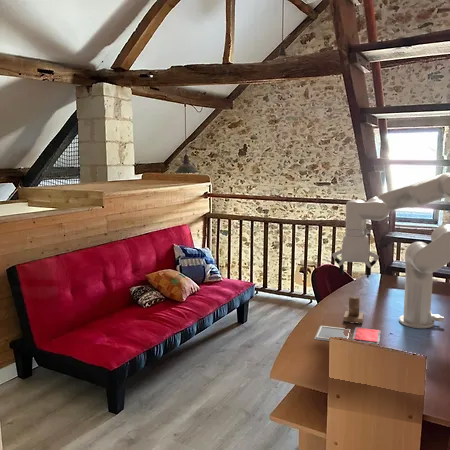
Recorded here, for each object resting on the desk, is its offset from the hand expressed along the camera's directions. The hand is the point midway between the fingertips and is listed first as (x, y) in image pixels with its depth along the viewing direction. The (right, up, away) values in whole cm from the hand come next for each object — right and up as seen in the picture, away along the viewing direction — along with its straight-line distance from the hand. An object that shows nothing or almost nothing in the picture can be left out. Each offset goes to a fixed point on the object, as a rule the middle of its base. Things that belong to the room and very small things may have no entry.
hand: (354, 275), depth 178 cm
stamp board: (-10, -20, -10) cm, 25 cm away
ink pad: (0, -21, -14) cm, 25 cm away
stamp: (0, -18, +3) cm, 18 cm away
